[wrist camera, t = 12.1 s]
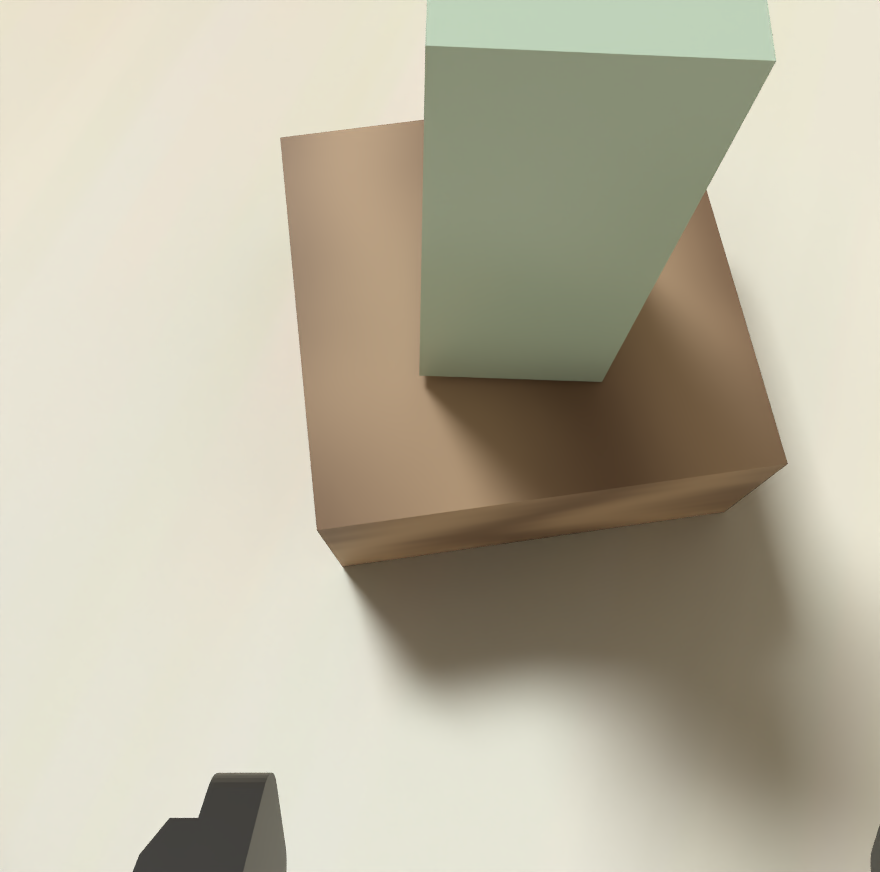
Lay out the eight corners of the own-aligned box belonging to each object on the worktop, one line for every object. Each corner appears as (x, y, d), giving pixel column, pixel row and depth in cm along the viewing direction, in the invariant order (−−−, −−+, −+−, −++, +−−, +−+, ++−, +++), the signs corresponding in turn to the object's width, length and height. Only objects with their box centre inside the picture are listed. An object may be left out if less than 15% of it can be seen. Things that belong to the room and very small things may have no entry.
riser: (344, 568, 23) (317, 530, 19) (310, 240, 27) (280, 137, 22) (720, 514, 24) (787, 463, 19) (637, 197, 27) (676, 88, 23)
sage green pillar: (419, 375, 20) (425, 45, 10) (424, 219, 21) (434, -195, 12) (601, 382, 20) (776, 60, 10) (594, 226, 21) (740, -179, 12)
